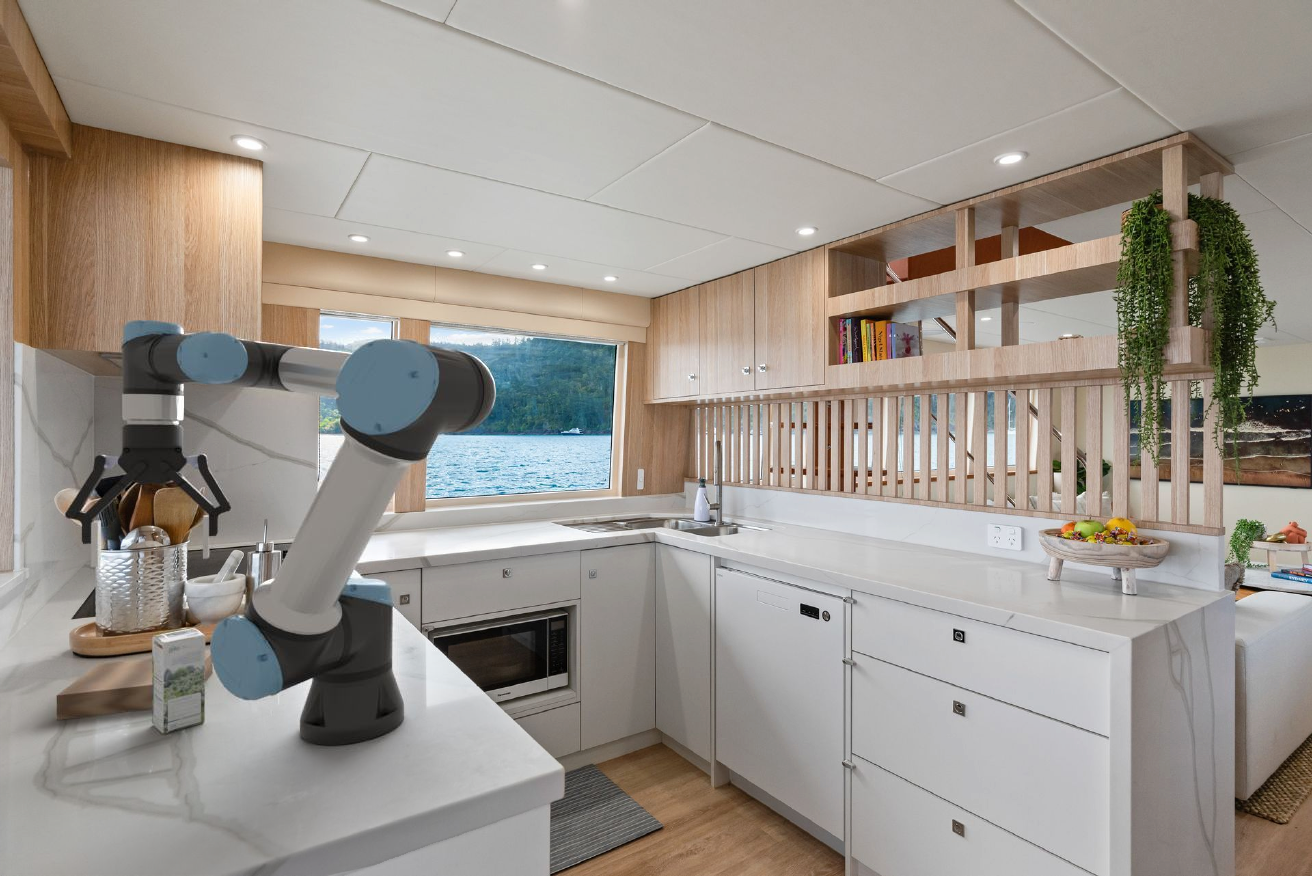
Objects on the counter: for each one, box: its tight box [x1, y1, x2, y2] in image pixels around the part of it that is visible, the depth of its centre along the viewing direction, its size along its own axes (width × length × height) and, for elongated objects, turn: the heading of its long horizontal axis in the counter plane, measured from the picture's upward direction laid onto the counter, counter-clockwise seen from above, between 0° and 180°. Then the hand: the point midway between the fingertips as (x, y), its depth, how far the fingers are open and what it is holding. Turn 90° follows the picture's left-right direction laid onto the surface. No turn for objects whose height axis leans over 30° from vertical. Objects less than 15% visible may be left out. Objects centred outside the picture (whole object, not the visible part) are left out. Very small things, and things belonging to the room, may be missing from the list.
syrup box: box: [151, 627, 206, 735], centre depth 107 cm, size 6×6×14 cm
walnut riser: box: [56, 652, 214, 721], centre depth 119 cm, size 18×16×4 cm
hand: (152, 561), depth 103 cm, fingers open, 13 cm apart
